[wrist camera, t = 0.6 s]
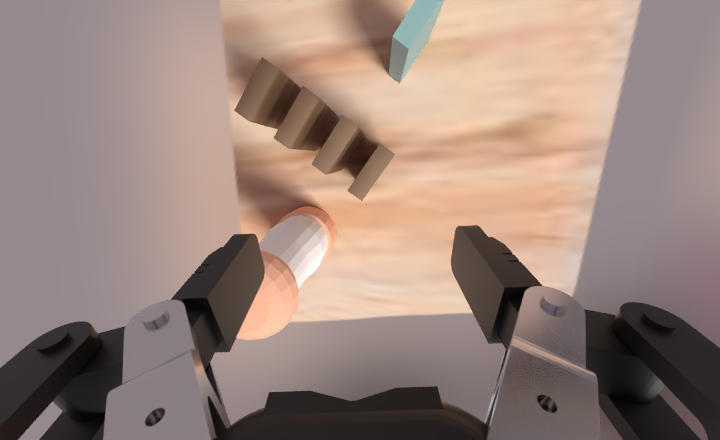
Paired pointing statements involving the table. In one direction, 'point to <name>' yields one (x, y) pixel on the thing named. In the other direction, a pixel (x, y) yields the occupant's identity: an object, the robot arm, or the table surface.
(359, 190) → the walnut tile
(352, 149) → the walnut tile
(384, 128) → the table surface
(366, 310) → the table surface
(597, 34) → the table surface
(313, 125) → the walnut tile
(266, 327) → the pepper shaker
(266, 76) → the walnut tile
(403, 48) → the teal tile
